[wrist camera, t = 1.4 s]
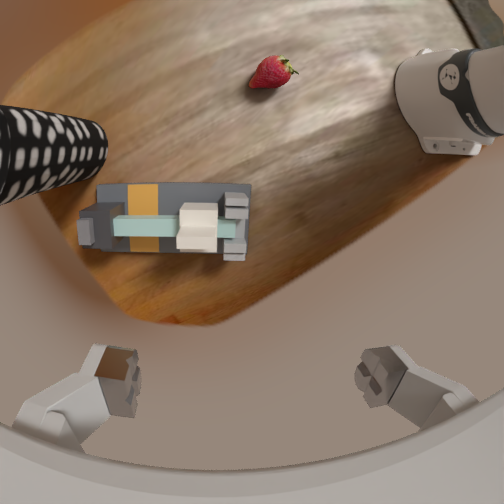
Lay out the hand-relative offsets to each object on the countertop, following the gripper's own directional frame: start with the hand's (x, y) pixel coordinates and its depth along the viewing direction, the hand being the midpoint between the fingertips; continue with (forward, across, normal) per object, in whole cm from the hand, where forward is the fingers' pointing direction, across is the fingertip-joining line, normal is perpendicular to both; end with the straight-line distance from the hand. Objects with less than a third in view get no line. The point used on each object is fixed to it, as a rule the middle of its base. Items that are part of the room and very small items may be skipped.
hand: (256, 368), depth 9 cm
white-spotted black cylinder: (+29, +20, -7) cm, 36 cm away
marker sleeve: (+26, +3, +1) cm, 27 cm away
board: (+29, +7, +1) cm, 29 cm away
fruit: (+29, -4, -18) cm, 34 cm away
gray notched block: (+29, -1, +1) cm, 29 cm away
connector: (+29, +15, +2) cm, 32 cm away
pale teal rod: (+25, +7, +1) cm, 26 cm away
